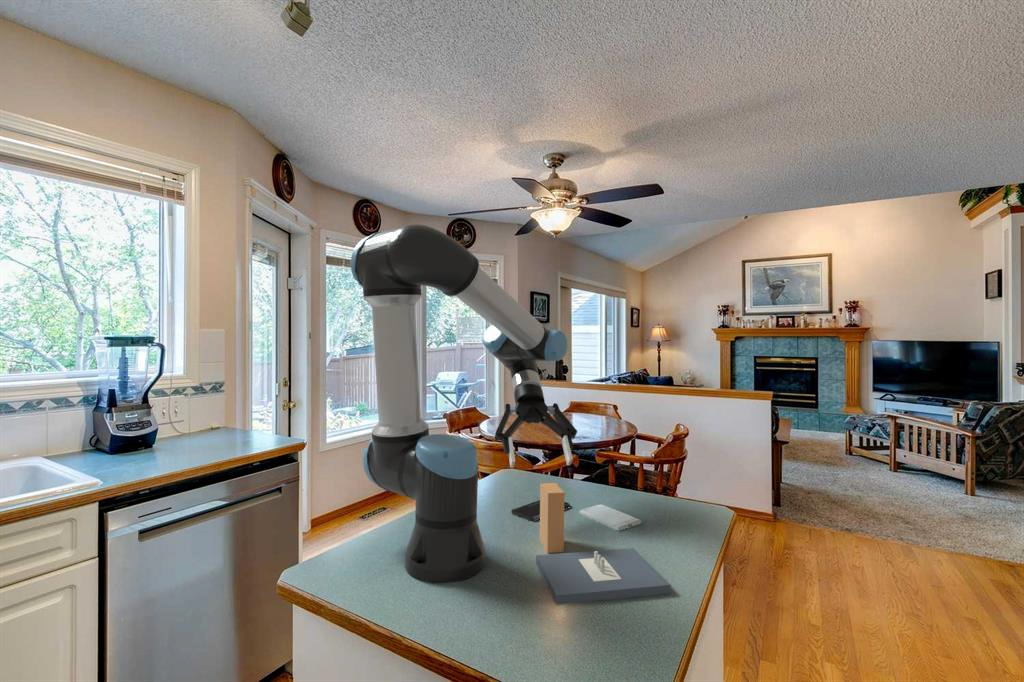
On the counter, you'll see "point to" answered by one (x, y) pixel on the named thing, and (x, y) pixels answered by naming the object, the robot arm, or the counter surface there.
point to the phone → (531, 511)
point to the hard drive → (610, 517)
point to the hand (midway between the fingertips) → (541, 463)
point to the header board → (600, 576)
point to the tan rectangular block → (552, 517)
